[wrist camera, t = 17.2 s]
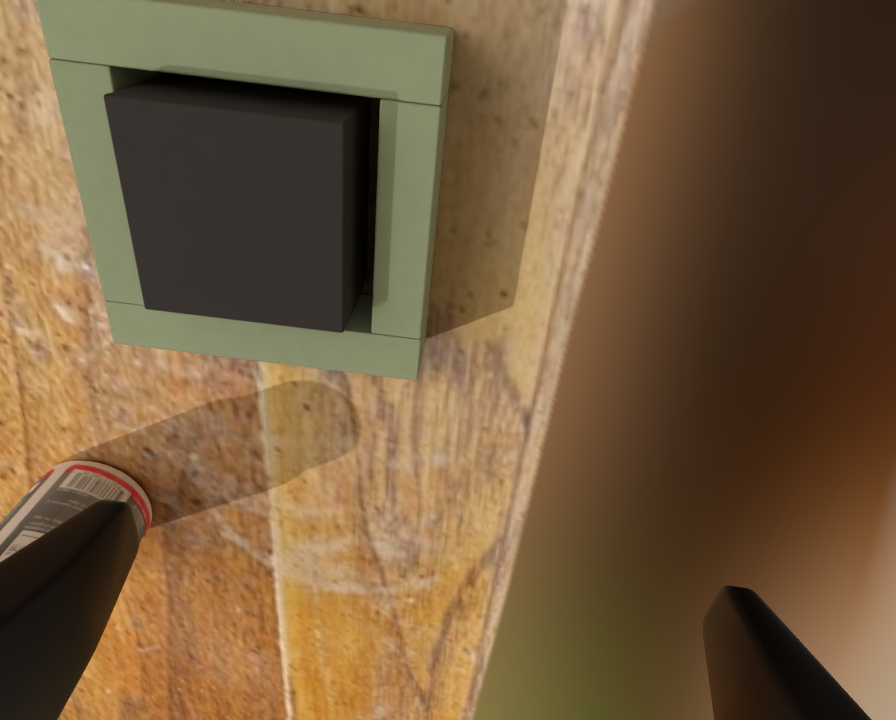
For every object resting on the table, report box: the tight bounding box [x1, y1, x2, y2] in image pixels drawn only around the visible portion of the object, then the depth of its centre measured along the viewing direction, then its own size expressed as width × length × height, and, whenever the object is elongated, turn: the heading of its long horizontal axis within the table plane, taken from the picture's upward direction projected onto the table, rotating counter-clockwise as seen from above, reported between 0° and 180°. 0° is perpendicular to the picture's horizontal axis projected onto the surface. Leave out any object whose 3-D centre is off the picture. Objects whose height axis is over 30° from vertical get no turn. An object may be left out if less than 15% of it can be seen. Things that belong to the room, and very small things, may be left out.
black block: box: [104, 74, 371, 333], centre depth 17 cm, size 6×6×4 cm
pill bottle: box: [0, 461, 152, 562], centre depth 23 cm, size 5×5×8 cm
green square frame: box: [35, 0, 455, 381], centre depth 17 cm, size 10×10×2 cm
